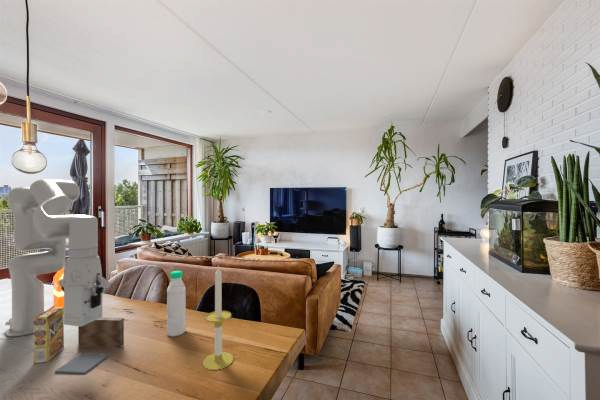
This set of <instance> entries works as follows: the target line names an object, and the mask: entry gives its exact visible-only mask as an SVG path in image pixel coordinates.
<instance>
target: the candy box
mask: <svg viewBox="0 0 600 400" xmlns="http://www.w3.org/2000/svg"><path fill="white" fill-rule="evenodd" d="M64 326H65V325H64V308H63V307H55V306H54V307H50V308H48V309H47V310H44V312H43V313H42V314H40V315H38V316H37V317H34V333H33V356H34V357H33V363H34V364H39V363H46V362H47V363H48V362H49V361H50V360H51V359H53V358H54V357H55V356H56V355H57V354H58V353H60V352H61V351H62V350H63V349H64V348H65V340H64V339H65V338H64V337H65V334H64V332H65V329H64Z"/></svg>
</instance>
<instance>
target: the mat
mask: <svg viewBox="0 0 600 400" xmlns="http://www.w3.org/2000/svg"><path fill="white" fill-rule="evenodd" d="M110 355H111V354H110V353H95V352H92V353H91V352H82V353H80V354H78V355H77V356H75V357H74V358H72V359H70V360H69V361H67V362H66V363H64V364H63V365H61V366H60V367H59V368H57V369H55V370H54V373H55V374H76V375H78V374H79V375H86V374H87V373H88V372H90V371H91V370H92V369H94V368H96V367H97V366H98V365H99V364H101V363H102V362H103V361H104V360H106V359H107V358H108V357H110Z"/></svg>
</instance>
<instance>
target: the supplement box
mask: <svg viewBox="0 0 600 400" xmlns="http://www.w3.org/2000/svg"><path fill="white" fill-rule="evenodd" d="M98 284H100V283H99V282H98ZM95 285H97V283H95ZM100 287H101V285H100ZM95 290H96V291H97V287H95ZM91 296H93V294H92V292H91V289H88V290H87V289H86V286H64V308H63V319H64V326H72V327H73V326H74V327H78V326H81V327H82V326H84V325H86V324H88V323H90V322H92V321H94V320H96V319H99V318H101V317H102V318H103V293H101V304H100V305H99V306H97V307H95V308H91Z"/></svg>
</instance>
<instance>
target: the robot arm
mask: <svg viewBox="0 0 600 400" xmlns="http://www.w3.org/2000/svg"><path fill="white" fill-rule="evenodd" d="M80 195H81V190H80V187H79V185H78V183H76V182H75V181H73V180H68V179H65V180H64V179H50V178H49V179H47V178H46V179H38V180H36V181H33V182H32V183H31V185H29V186H18V187H15V188H11V189H10V190H9V191H8V194H7V202H8V206H9V209H10V211H11V213H12V215H13V220H14V221H13V222H14V227H13V228H14V229H13V230H14V231H13V232H14V233H13V244H14V248H15V249H16V250H18V251H21V252H22V251H23V252H24V251H26V252H27V251H37V250H43V249H44V250H45V249H49V250H46V251H39V252H30V253H29V252H28V253H23V254H20V255H16V256H14V257H12V258H10V260H9V261H8V265H7V266H8V273H9V277H10V283H11V318H9V320H8V321H6V322H5V323H4V325H5V326H9V328H8V329H7V330H6V333H5V335H6V336H7V337H12V338H13V337H14V338H15V337H22V336H27V335H32V334H34V317H37V316H38V315H40V314H42V313H43V312H45V284H44V283H43V281H41V279H38V278H37V276H40V275H45V274H51V273H52V274H53V273H57V272H58V271H60V270H62V269H63V268H64V273H63V279H62V280H60V281H59V282H58V284H59V285H60V287H62V288H61V289H62V290H63V291H64V286H86V289H87V290H88V289H91V292H92V294H93V296H91V308H95V307H97V306H99V305H100V304H101V293H102V294H103V293H104V291H105V290H106V289H107V287H108V285H109V283H110V281H109V280H108V279H106V278H105V277H104V276H103V271H102V264H101V262H102V261H101V258H100V256H99V253H98V251H99V248H98V247H99V245H98V243H99V238H98V237H99V236H98V235H99V232H98V231H99V229H98V228H99V225H98V224H99V222H98V218H97V216H93V215H88V214H65V213H67V212H68V211H69V210H70V209H71V207H72V203H75V201H77V200H78V199H79V198H80ZM67 238H68V249H67V247H66V245H67V244H66V243H67ZM66 249H67V251H66ZM66 254H68V257H66V256H67V255H66ZM98 282H99V283H100V284H98ZM95 283H97V285H95ZM100 285H101V287H100ZM95 287H97V291H96V290H95Z"/></svg>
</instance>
